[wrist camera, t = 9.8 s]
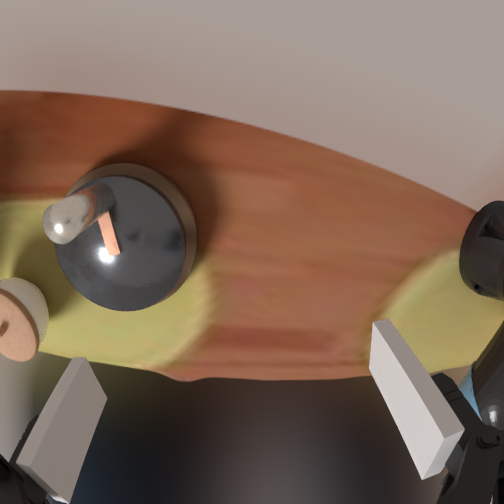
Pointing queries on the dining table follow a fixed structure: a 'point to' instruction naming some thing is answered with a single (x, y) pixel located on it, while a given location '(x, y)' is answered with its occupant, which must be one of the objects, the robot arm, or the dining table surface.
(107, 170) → the wheel base
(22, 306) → the lidded jar
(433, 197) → the dining table surface
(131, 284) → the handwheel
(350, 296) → the dining table surface
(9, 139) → the dining table surface
